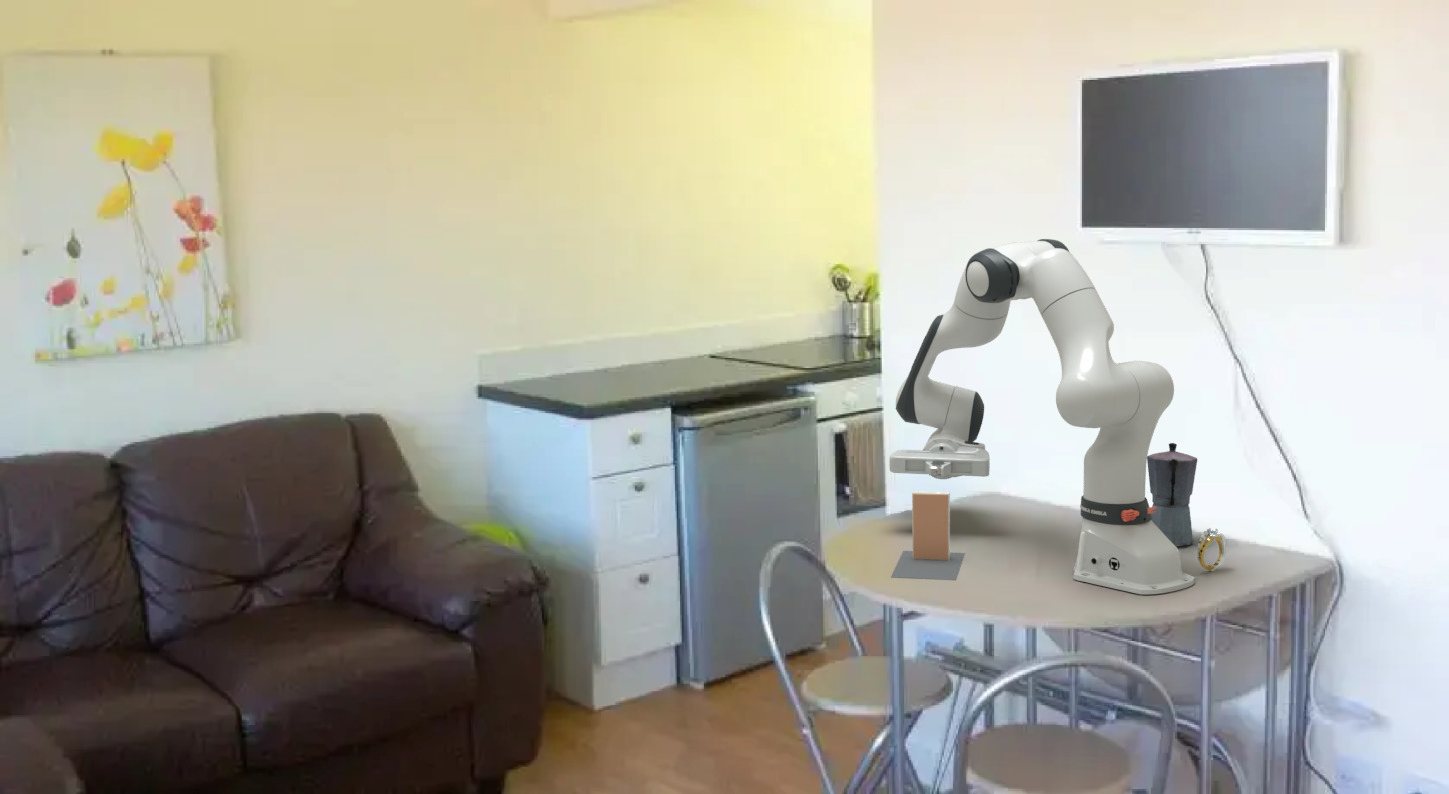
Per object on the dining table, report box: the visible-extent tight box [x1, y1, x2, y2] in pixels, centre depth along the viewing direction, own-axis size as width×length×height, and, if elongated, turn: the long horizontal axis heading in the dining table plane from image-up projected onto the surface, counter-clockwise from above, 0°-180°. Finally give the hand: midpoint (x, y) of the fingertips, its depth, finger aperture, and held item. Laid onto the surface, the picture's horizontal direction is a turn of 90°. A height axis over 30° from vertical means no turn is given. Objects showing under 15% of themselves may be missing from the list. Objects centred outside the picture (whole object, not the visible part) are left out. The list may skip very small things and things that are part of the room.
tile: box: [911, 490, 951, 560], centre depth 295 cm, size 2×7×13 cm, turn 76°
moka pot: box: [1146, 442, 1198, 547], centre depth 302 cm, size 10×15×20 cm, turn 170°
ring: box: [1196, 527, 1227, 572], centre depth 283 cm, size 7×3×8 cm, turn 119°
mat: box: [890, 550, 966, 581], centre depth 291 cm, size 19×12×1 cm, turn 166°
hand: (936, 471), depth 305 cm, fingers closed
